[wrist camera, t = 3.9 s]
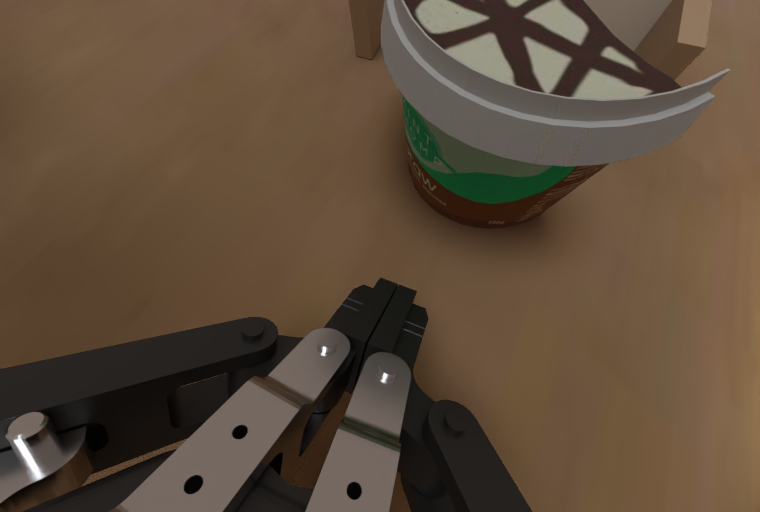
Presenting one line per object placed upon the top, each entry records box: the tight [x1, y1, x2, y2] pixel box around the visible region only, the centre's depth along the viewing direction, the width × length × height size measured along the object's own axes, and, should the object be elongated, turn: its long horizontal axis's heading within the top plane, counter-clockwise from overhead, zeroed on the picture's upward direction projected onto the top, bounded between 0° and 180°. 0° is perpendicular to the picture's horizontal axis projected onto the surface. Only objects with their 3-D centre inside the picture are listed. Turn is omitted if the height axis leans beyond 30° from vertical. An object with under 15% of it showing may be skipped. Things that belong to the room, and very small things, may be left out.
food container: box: [381, 0, 730, 228], centre depth 14 cm, size 12×6×10 cm, turn 32°
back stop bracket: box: [349, 0, 712, 80], centre depth 19 cm, size 18×6×6 cm, turn 68°
